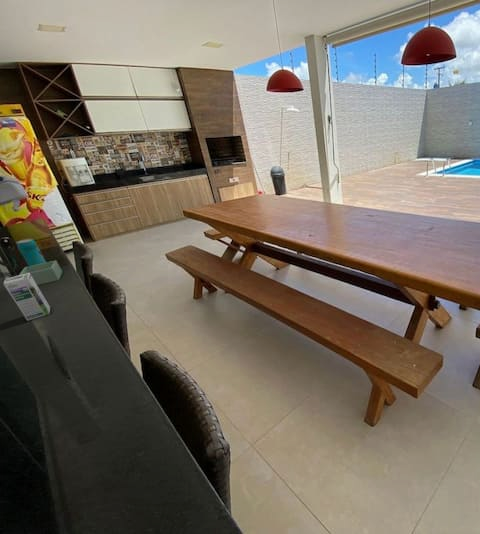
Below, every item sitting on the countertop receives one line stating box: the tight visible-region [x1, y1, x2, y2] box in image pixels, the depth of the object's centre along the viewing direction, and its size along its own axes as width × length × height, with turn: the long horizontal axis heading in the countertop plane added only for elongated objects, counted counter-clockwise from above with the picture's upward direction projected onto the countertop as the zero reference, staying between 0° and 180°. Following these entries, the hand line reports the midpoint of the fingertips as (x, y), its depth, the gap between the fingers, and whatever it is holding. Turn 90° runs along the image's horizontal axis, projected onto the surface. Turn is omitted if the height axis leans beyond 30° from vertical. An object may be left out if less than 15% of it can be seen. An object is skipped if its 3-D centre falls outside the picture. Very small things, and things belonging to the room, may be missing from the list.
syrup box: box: [3, 273, 51, 322], centre depth 102 cm, size 6×6×14 cm
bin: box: [18, 260, 63, 286], centre depth 130 cm, size 10×10×6 cm
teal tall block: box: [15, 238, 48, 266], centre depth 136 cm, size 6×6×15 cm
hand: (5, 214), depth 134 cm, fingers open, 8 cm apart
